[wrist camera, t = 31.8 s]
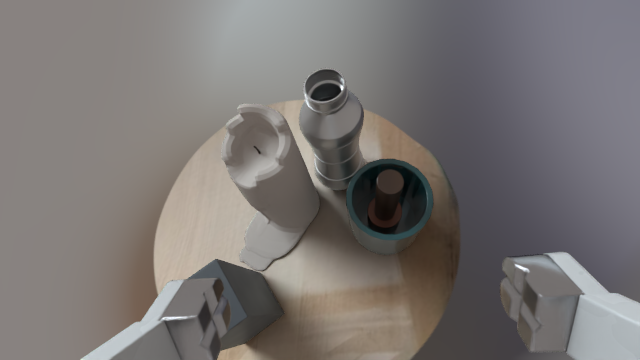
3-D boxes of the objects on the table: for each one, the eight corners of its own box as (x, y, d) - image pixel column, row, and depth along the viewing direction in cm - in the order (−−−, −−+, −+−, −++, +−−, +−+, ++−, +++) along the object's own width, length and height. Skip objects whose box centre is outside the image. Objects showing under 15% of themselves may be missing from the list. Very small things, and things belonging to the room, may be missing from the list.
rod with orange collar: (394, 201, 44) (405, 156, 31) (402, 230, 42) (418, 197, 29) (364, 208, 44) (363, 166, 31) (371, 237, 43) (374, 207, 30)
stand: (285, 313, 41) (247, 316, 28) (244, 343, 41) (187, 361, 28) (260, 272, 44) (215, 258, 31) (221, 300, 43) (159, 298, 30)
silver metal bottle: (308, 167, 48) (272, 79, 29) (348, 143, 49) (337, 41, 30) (332, 203, 46) (309, 133, 27) (374, 177, 46) (379, 91, 28)
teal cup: (433, 227, 43) (452, 205, 34) (378, 268, 42) (381, 258, 33) (389, 176, 46) (395, 143, 37) (337, 214, 45) (329, 190, 36)
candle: (228, 252, 45) (132, 213, 27) (288, 170, 48) (240, 85, 30) (269, 283, 43) (196, 265, 24) (329, 196, 46) (305, 121, 28)
